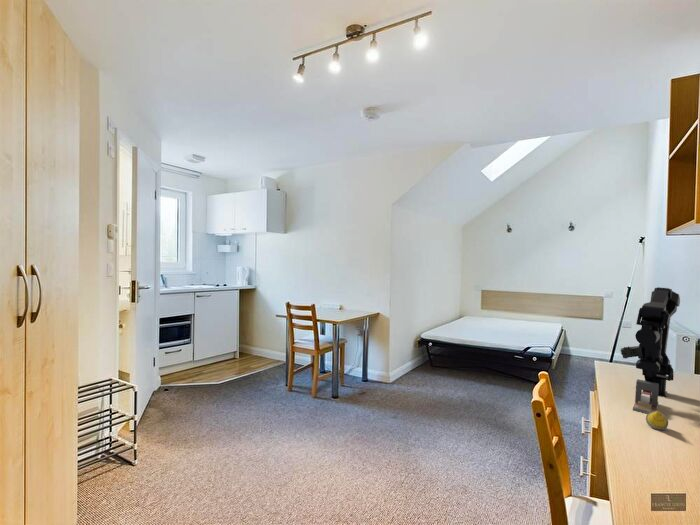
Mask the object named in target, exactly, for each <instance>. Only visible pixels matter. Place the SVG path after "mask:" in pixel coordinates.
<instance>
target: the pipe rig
mask: <svg viewBox="0 0 700 525" xmlns="http://www.w3.org/2000/svg"><path fill="white" fill-rule="evenodd" d="M650 399H652V392H650V391H645V390H642V392H641V402H640V401H638V402H635V401H634V405H633V407H632V411H634V412H637V413H642V414H646V415H647V414H648V413H649V412H653V411H655V412H656V411H658V410H657V409H658V406H659V403H658V404H657V407H654V406H652V404H649V402H650Z"/></svg>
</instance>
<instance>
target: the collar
mask: <svg viewBox="0 0 700 525" xmlns="http://www.w3.org/2000/svg"><path fill="white" fill-rule="evenodd" d="M643 390H645V391H650V392H653V394H652V399H650V402H649V404H652V406H654V407H657V404H658V405H659V401H658V400H659V395H658V390H659V384H658V383H653V382H649V381H645V379H644V380H643V379H640V378H639V379H638V378H637V380H636V383H635V395H634V396H635V397H634V403H635V402H638V401H640V402H641V393H642V392H643ZM657 408H658V407H657Z"/></svg>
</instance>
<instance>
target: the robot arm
mask: <svg viewBox="0 0 700 525" xmlns="http://www.w3.org/2000/svg"><path fill="white" fill-rule="evenodd" d="M680 303H681V296H680V294H679V293H677V292H675V291H673V290H672V288H669V287H660V286H658V287H655V288H654V290H653V291H651V295H650V301H649V302H645V303H643V305H642V306H641V307H639V310H638V314H637V319H636V322H635V323H636V326H637V325H638V326H641V328H640V329H638V330H637V331H636V333H635V335H634V336H635V340H636V341H637V342H638V343H639V344H638V345H636V346H635V345H634V346H626V347H625V346H624V347H622V348H620V355H621V356H622V358H623V359H628V358H635V357H637V358H638V359H637V361H636V362H635V369H638V370H642V371H641V372H642V376H644V381H649V382H653V383H658V384H659V390H658V396H661V397H665V398H666V397H667V395H668V391H667V390H666V389H667V381H668V382H671V381H674V375H675V374H674V368H673V366H672V364H671V360H670V359H669V357H668V355H667V347H668V346H667V345H668V340H669V332H670V323H671V318H672V316H674V314H675V313H676V312H678V311H677V310H678V307H680ZM652 394H653V392H652Z"/></svg>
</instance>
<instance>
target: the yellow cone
mask: <svg viewBox="0 0 700 525" xmlns="http://www.w3.org/2000/svg"><path fill="white" fill-rule="evenodd" d="M645 421H646V423H647V425H648V426H649V427H650V428H651V429H653V430H656V431H663V430H665V429H667V428H668V427H669V420H668V418H667V416H666V415H665V414H664V413H662V412H660V410H657V411H656V412H655V411H653V412H649V413H648V414H646V416H645Z"/></svg>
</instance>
